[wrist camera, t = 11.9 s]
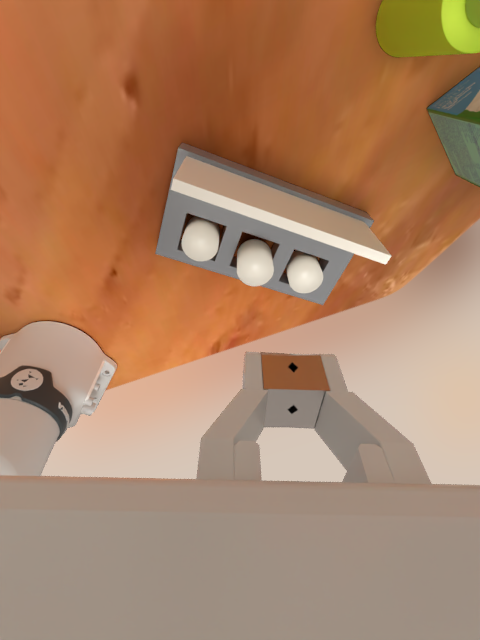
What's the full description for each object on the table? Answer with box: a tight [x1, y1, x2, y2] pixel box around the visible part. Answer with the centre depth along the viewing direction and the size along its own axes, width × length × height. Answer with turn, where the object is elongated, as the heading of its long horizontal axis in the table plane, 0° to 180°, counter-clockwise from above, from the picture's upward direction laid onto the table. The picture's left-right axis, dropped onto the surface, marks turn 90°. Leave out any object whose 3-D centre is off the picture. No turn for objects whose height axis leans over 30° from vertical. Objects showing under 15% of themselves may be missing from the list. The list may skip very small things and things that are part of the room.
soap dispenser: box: [376, 0, 480, 57], centre depth 23 cm, size 6×7×20 cm
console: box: [155, 142, 391, 305], centre depth 39 cm, size 13×24×12 cm, turn 71°
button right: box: [285, 250, 323, 293], centre depth 44 cm, size 4×4×4 cm
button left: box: [181, 216, 220, 261], centre depth 42 cm, size 4×4×4 cm
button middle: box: [237, 239, 274, 286], centre depth 41 cm, size 4×4×4 cm
